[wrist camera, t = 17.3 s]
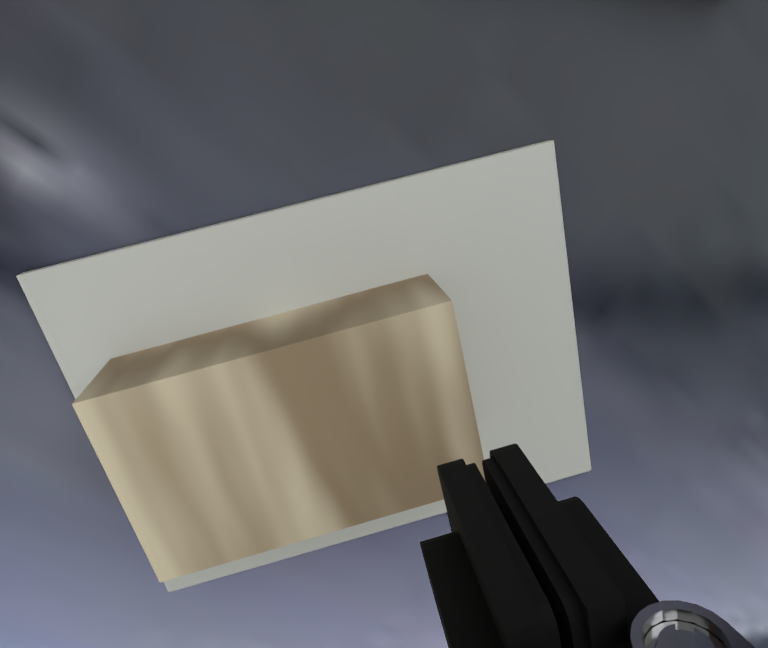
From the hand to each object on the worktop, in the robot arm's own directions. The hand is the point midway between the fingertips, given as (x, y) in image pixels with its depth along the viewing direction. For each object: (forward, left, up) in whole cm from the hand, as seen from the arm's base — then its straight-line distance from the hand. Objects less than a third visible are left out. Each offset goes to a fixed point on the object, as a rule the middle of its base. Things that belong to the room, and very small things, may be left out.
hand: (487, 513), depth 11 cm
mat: (+2, 0, -8) cm, 8 cm away
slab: (-1, 0, -6) cm, 6 cm away
